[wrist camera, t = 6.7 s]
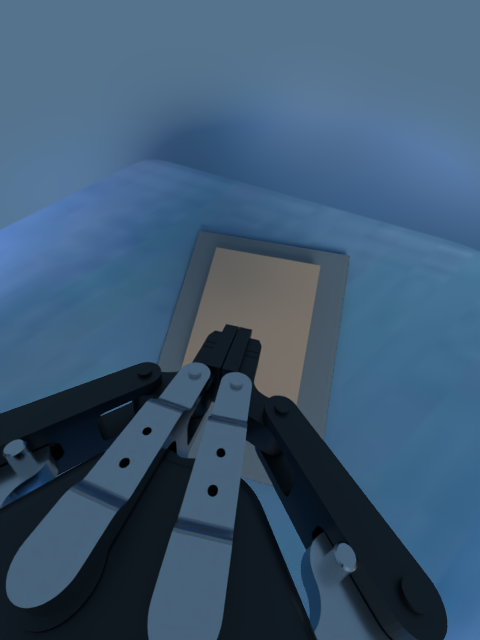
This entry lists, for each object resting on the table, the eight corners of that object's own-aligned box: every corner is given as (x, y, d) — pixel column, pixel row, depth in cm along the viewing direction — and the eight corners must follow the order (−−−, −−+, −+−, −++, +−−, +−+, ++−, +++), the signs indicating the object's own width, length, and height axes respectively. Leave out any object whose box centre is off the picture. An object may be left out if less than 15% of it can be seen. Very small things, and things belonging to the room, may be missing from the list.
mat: (313, 494, 20) (315, 498, 19) (137, 442, 22) (132, 444, 21) (346, 259, 25) (349, 255, 24) (201, 234, 27) (199, 230, 26)
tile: (295, 411, 19) (320, 265, 22) (177, 381, 20) (216, 247, 23) (291, 409, 21) (315, 275, 24) (184, 381, 22) (219, 257, 25)
